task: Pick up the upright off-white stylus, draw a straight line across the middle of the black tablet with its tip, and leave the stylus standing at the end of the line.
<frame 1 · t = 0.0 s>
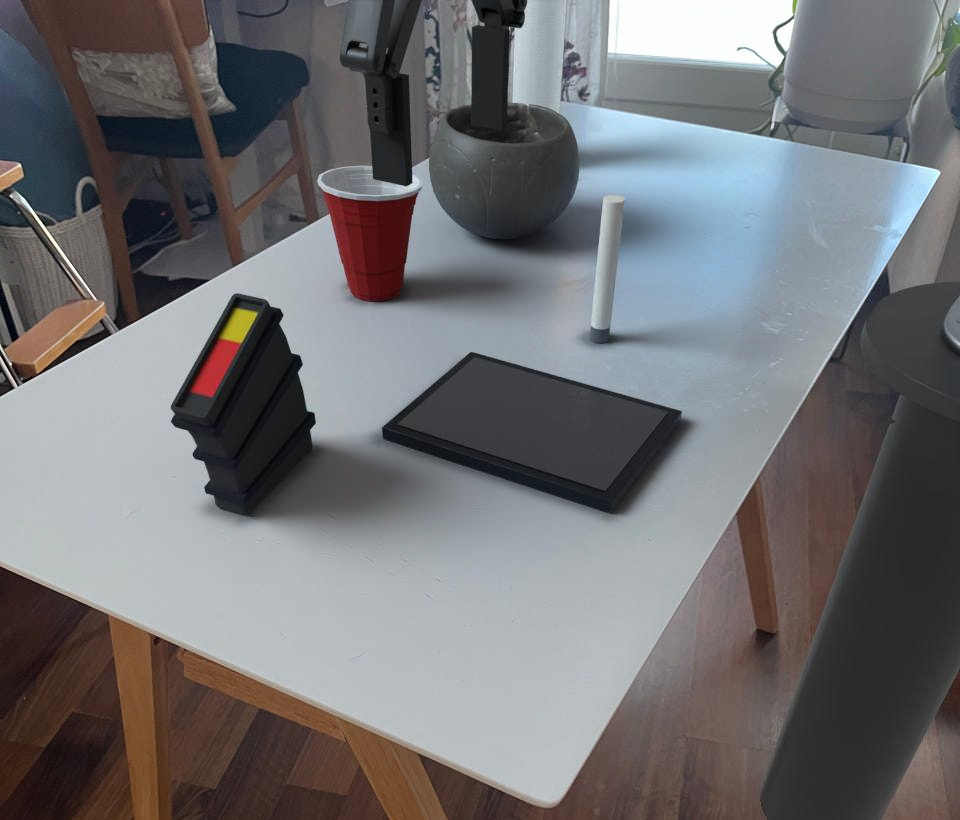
hand: (443, 153, 70), 24 cm above the table, tool pointing down, fingers open, 13 cm apart
bowl: (502, 231, 120), on the table
plastic cup: (377, 291, 107), on the table
paper towel roll: (532, 163, 138), on the table
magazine: (259, 486, 80), on the table
stylus: (599, 338, 100), on the table
tablet: (533, 430, 87), on the table
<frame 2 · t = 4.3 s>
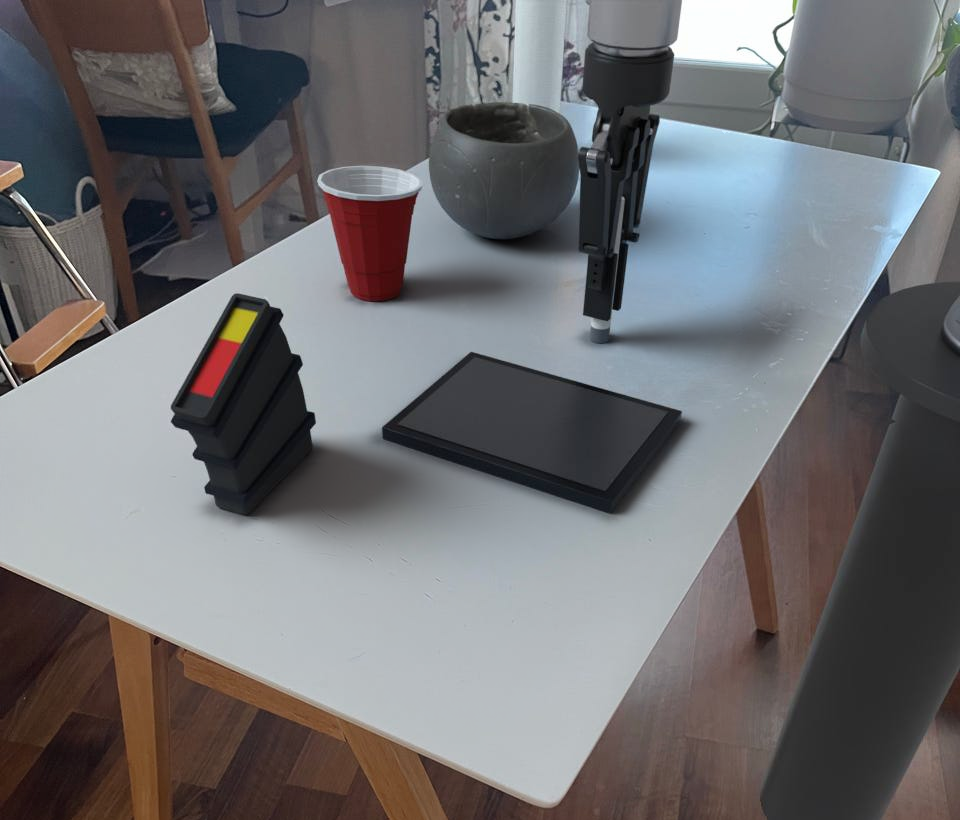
hand: (602, 311, 97), 3 cm above the table, tool pointing down, fingers closed on stylus, 2 cm apart
stylus: (599, 338, 100), on the table, touching gripper
everything else where it was.
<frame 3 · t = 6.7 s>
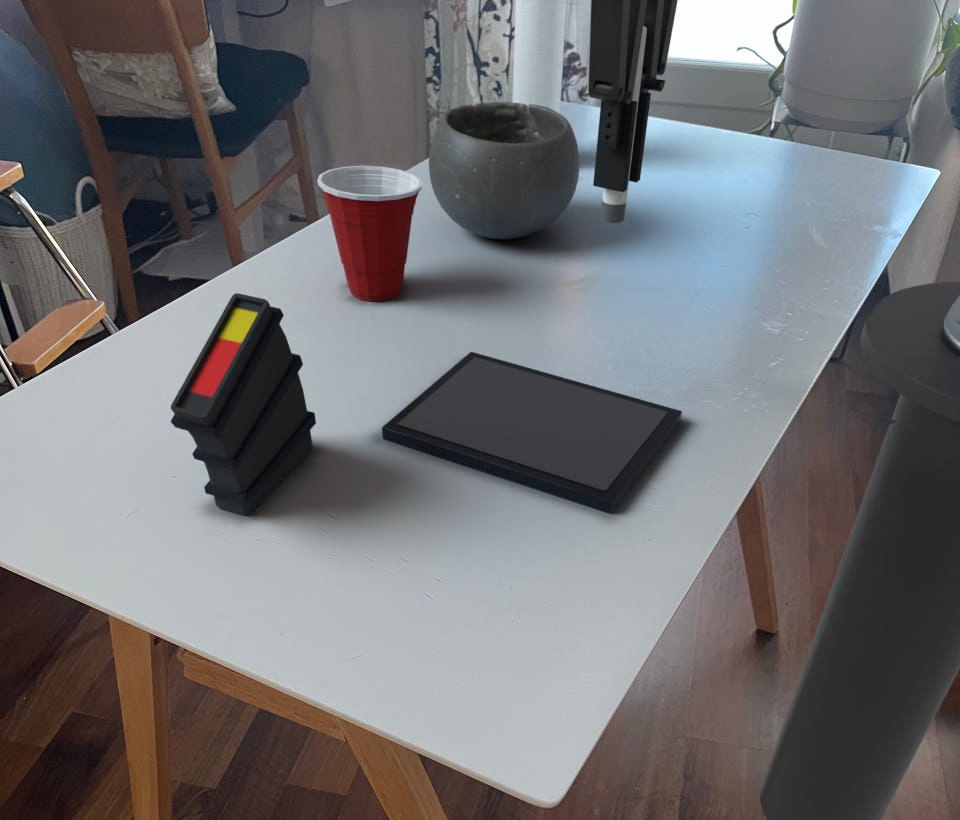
hand: (616, 182, 80), 19 cm above the table, tool pointing down, fingers closed on stylus, 2 cm apart
stylus: (612, 219, 82), point 16 cm above the table, touching gripper
everything else where it was.
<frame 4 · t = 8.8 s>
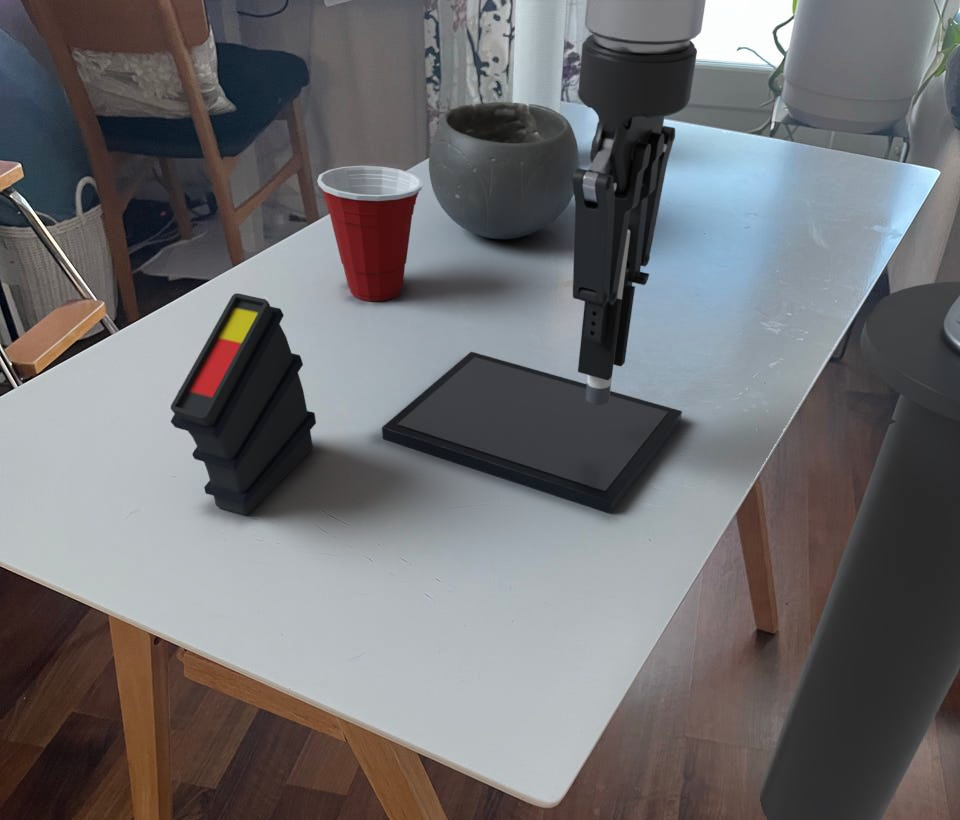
hand: (601, 366, 79), 8 cm above the table, tool pointing down, fingers closed on stylus, 2 cm apart
stylus: (597, 398, 81), point 5 cm above the table, touching gripper
everything else where it was.
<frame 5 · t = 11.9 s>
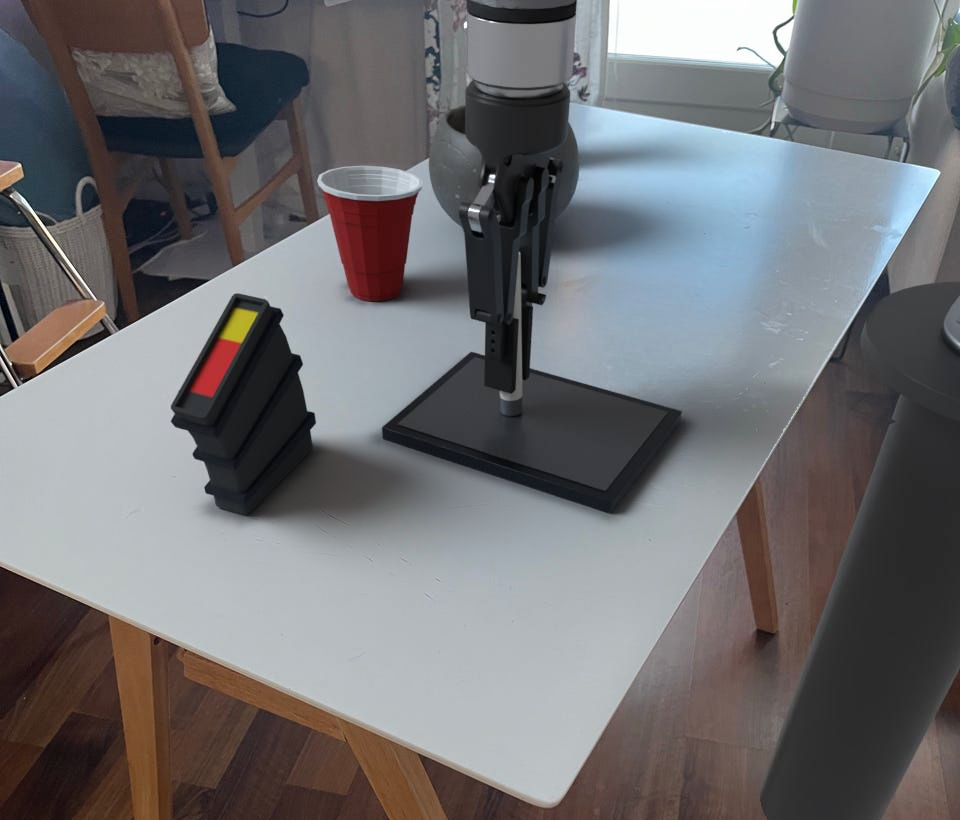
hand: (506, 380, 85), 4 cm above the table, tool pointing down, fingers closed on stylus, 2 cm apart
stylus: (511, 410, 87), point 1 cm above the table, touching gripper
everything else where it was.
when the fingers open (4 cm above the table, at t = 13.6 s): stylus stays where it is, resting on tablet.
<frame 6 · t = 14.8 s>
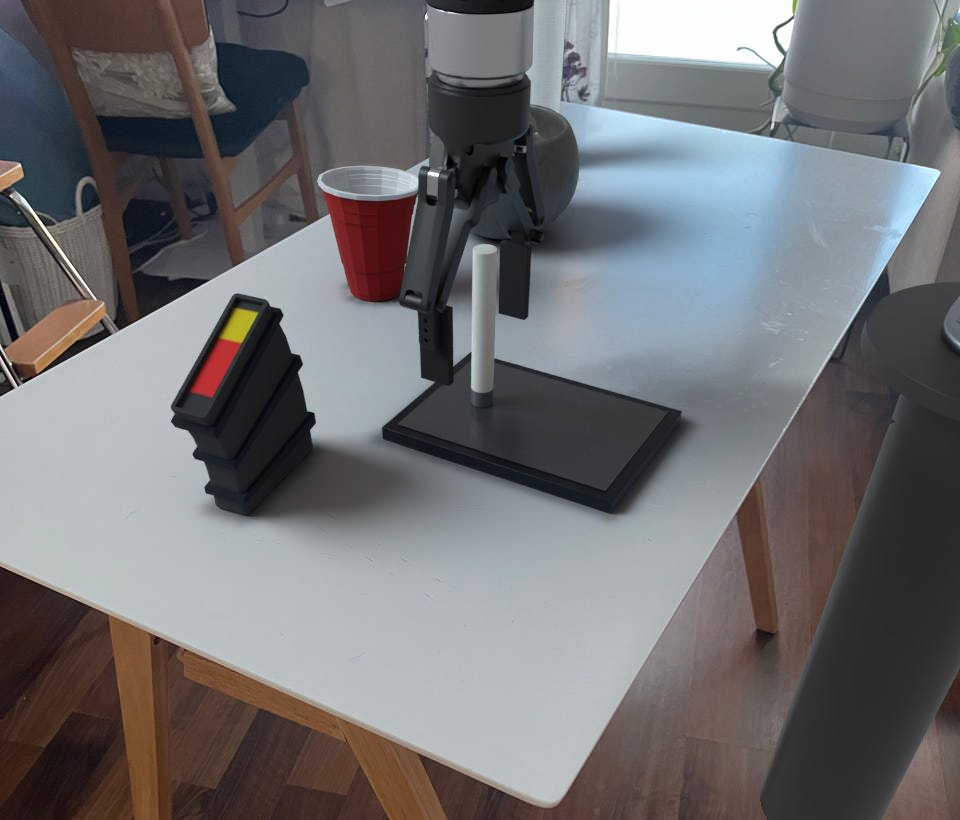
hand: (477, 346, 84), 7 cm above the table, tool pointing down, fingers open, 13 cm apart
stylus: (481, 402, 88), point 1 cm above the table, touching tablet
everything else where it was.
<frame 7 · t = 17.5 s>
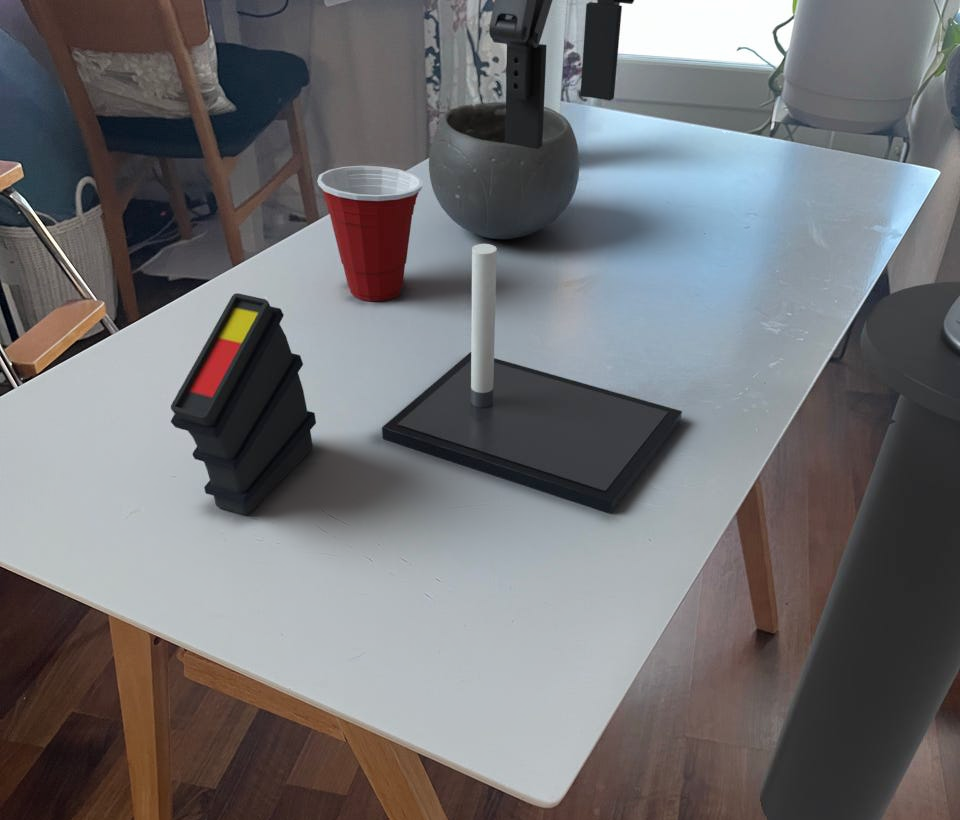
hand: (562, 120, 76), 24 cm above the table, tool pointing down, fingers open, 13 cm apart
nothing on the table moved.
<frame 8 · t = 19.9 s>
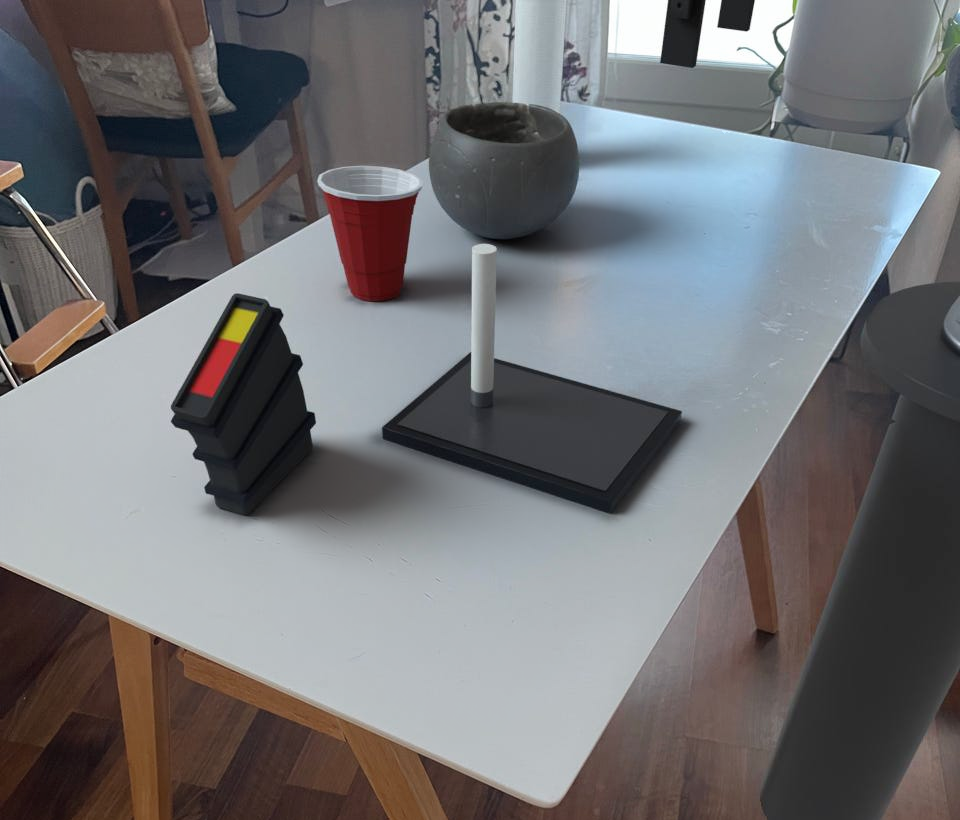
hand: (706, 46, 80), 27 cm above the table, tool pointing down, fingers open, 13 cm apart
nothing on the table moved.
at the end: stylus 0.7 cm from the target spot on the tablet, point 1.3 cm above the tablet's base; stylus tilted 0°; stylus moved 19.3 cm from its start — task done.
